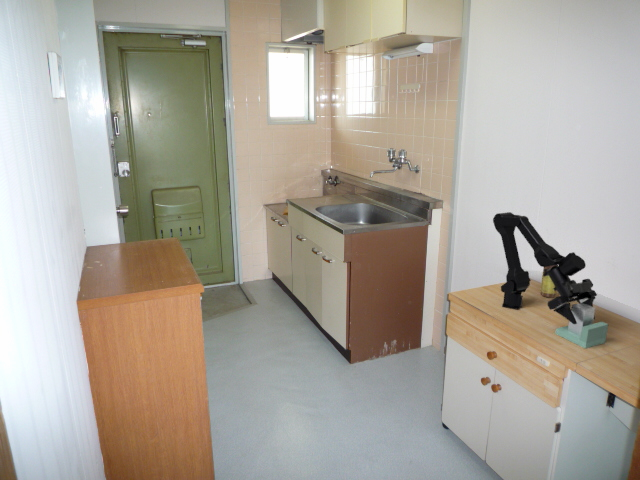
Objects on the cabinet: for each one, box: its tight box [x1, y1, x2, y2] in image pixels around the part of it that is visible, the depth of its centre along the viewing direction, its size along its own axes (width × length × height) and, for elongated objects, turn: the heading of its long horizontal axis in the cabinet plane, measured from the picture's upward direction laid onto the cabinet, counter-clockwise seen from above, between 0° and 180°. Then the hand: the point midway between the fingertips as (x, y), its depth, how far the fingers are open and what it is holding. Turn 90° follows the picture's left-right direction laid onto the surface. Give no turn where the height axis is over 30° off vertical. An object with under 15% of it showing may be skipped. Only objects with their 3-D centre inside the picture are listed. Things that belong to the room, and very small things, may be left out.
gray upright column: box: [567, 302, 596, 336], centre depth 165 cm, size 5×5×10 cm
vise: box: [554, 321, 609, 349], centre depth 165 cm, size 12×10×7 cm
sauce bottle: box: [540, 265, 559, 299], centre depth 202 cm, size 6×6×20 cm
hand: (584, 321), depth 164 cm, fingers open, 9 cm apart
